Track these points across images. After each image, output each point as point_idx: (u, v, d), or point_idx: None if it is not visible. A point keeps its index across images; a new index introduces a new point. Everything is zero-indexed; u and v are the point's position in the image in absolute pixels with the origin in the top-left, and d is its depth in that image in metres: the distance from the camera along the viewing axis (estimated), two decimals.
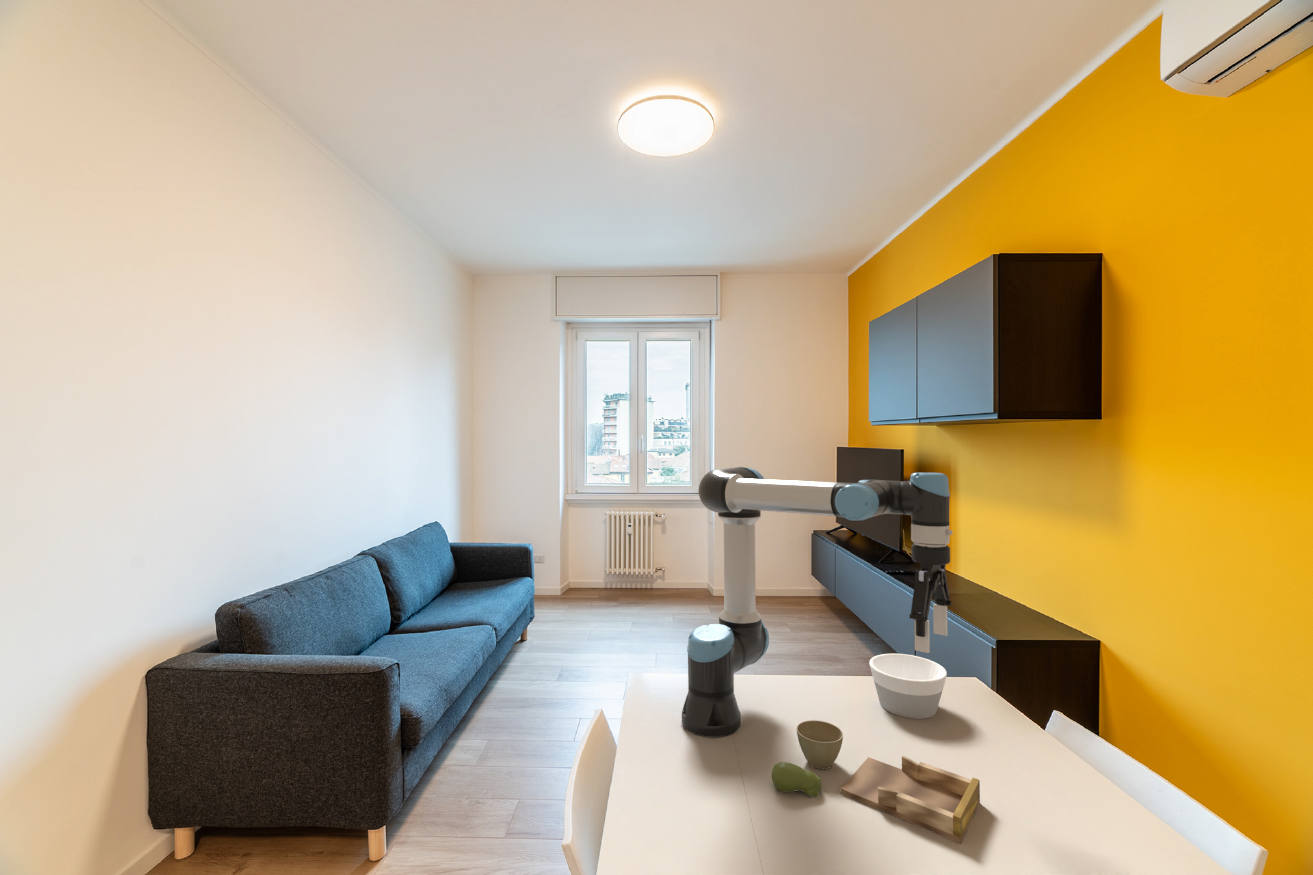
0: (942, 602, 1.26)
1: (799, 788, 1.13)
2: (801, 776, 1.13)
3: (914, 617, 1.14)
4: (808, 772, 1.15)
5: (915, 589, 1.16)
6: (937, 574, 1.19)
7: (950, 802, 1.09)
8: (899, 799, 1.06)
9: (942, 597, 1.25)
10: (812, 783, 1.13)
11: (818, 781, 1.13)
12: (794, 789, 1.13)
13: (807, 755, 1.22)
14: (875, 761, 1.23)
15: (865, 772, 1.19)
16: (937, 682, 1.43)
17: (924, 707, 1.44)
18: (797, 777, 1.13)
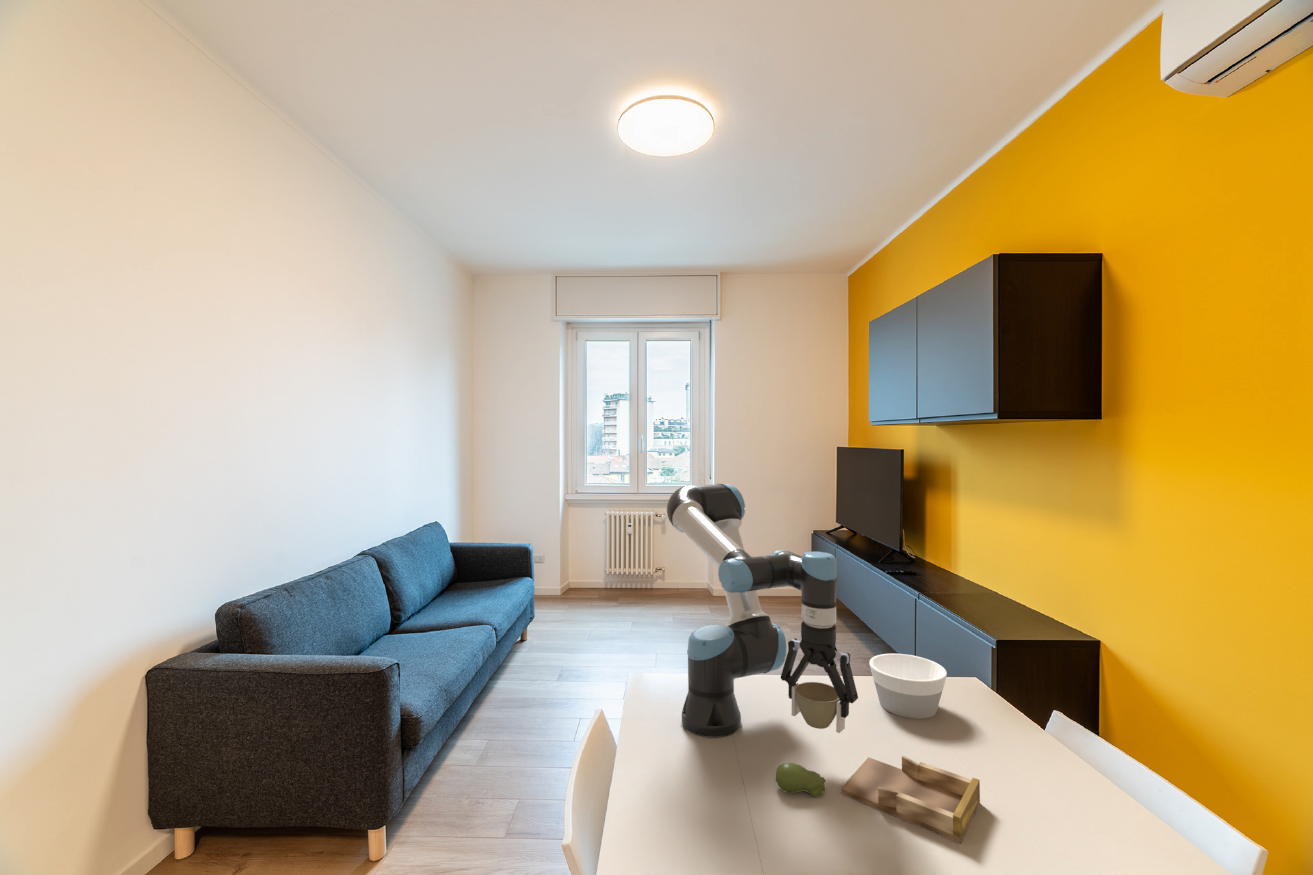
0: None
1: (803, 788, 1.12)
2: (806, 777, 1.13)
3: None
4: (812, 772, 1.14)
5: None
6: (807, 650, 1.25)
7: (950, 802, 1.09)
8: (899, 799, 1.06)
9: None
10: (816, 783, 1.13)
11: (822, 781, 1.13)
12: (798, 789, 1.12)
13: (805, 715, 1.23)
14: (875, 761, 1.23)
15: (865, 772, 1.19)
16: (937, 682, 1.43)
17: (924, 707, 1.44)
18: (802, 778, 1.13)
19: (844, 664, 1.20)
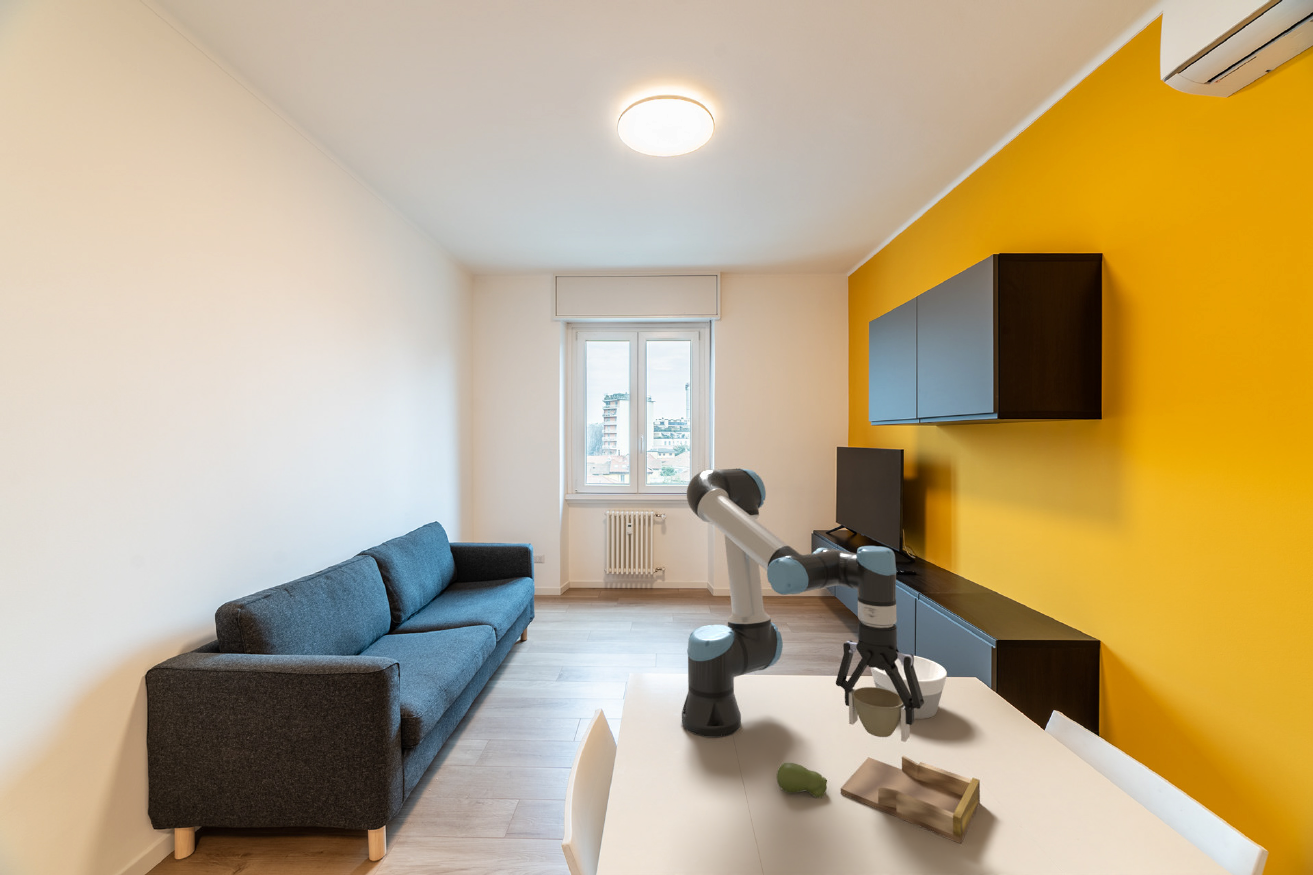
0: None
1: (805, 789, 1.12)
2: (807, 777, 1.13)
3: None
4: (814, 773, 1.14)
5: None
6: (865, 652, 1.16)
7: (950, 802, 1.09)
8: (899, 799, 1.06)
9: None
10: (818, 784, 1.12)
11: (824, 782, 1.13)
12: (800, 790, 1.12)
13: (866, 722, 1.14)
14: (875, 761, 1.23)
15: (865, 772, 1.19)
16: (937, 682, 1.43)
17: (924, 707, 1.44)
18: (803, 778, 1.13)
19: (908, 666, 1.11)
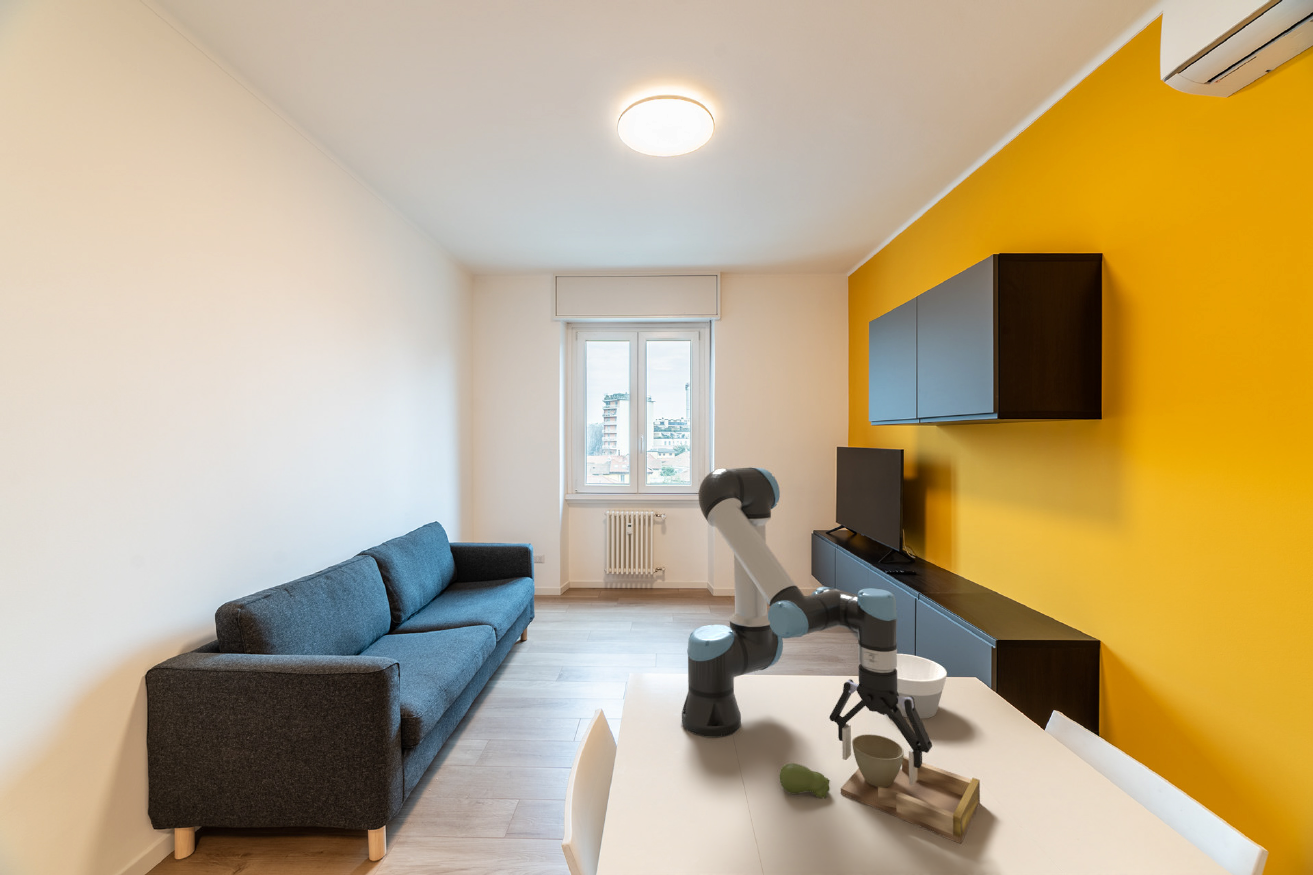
0: None
1: (808, 789, 1.12)
2: (810, 778, 1.13)
3: None
4: (816, 773, 1.14)
5: None
6: (866, 695, 1.16)
7: (950, 802, 1.09)
8: (899, 799, 1.06)
9: None
10: (821, 784, 1.12)
11: (826, 782, 1.13)
12: (803, 790, 1.12)
13: (865, 772, 1.14)
14: None
15: None
16: (937, 682, 1.43)
17: (924, 707, 1.44)
18: (806, 778, 1.12)
19: (910, 709, 1.11)
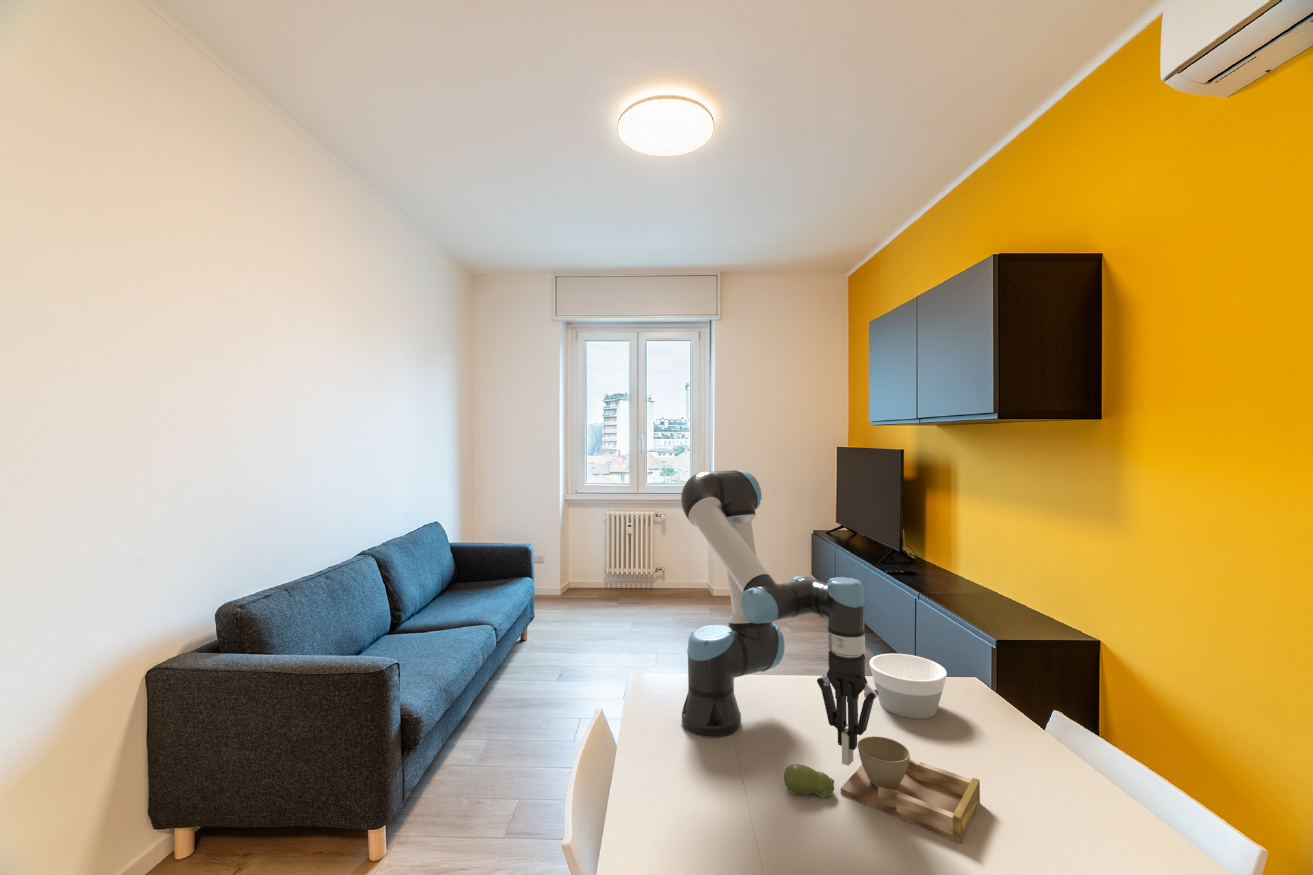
0: None
1: (813, 790, 1.12)
2: (815, 778, 1.13)
3: None
4: (821, 773, 1.14)
5: None
6: None
7: (950, 802, 1.09)
8: (899, 799, 1.06)
9: None
10: (825, 784, 1.12)
11: (831, 782, 1.13)
12: (808, 791, 1.12)
13: (871, 775, 1.13)
14: None
15: (865, 772, 1.19)
16: (937, 682, 1.43)
17: (924, 707, 1.44)
18: (811, 779, 1.12)
19: (869, 701, 1.16)
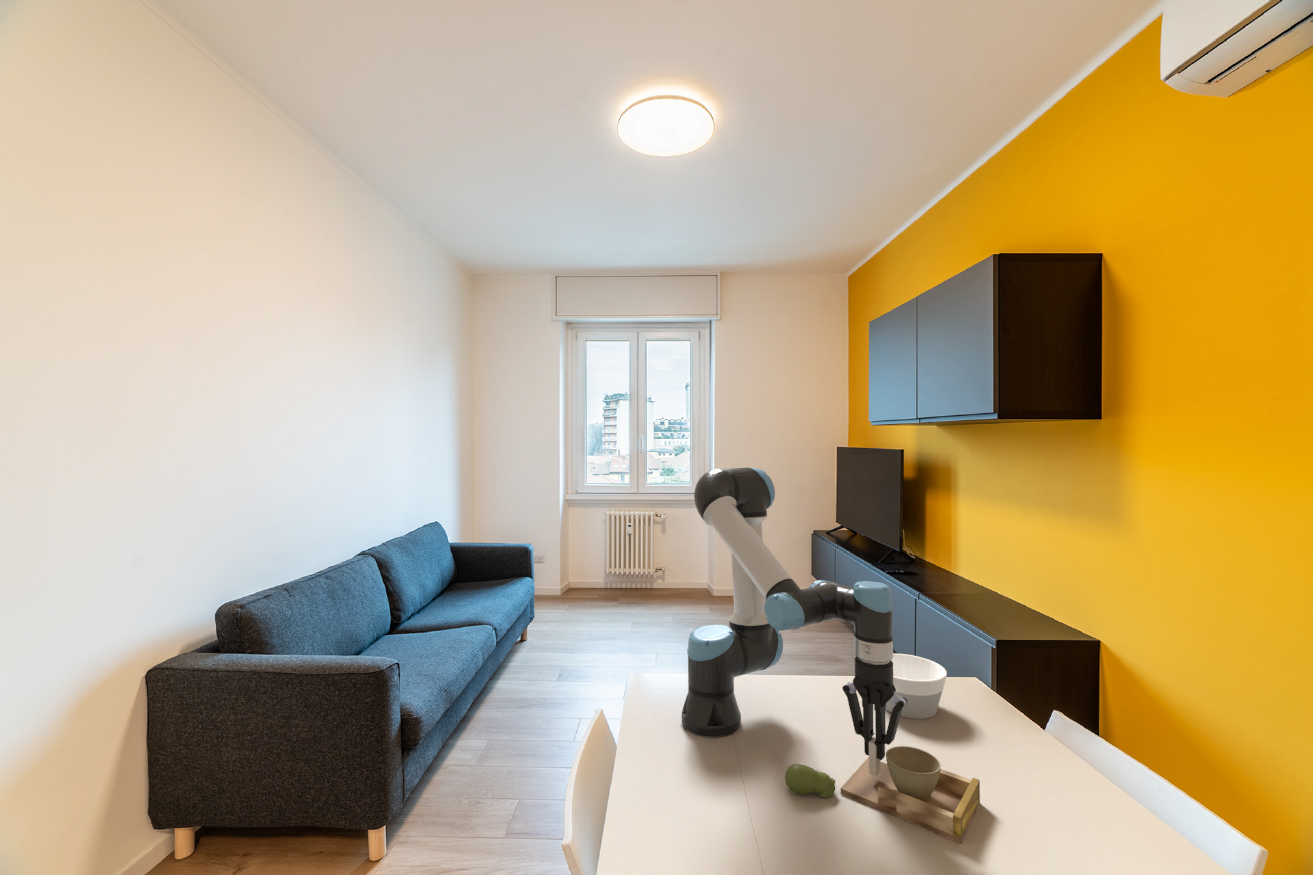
0: None
1: (814, 790, 1.12)
2: (816, 778, 1.12)
3: None
4: (822, 774, 1.14)
5: None
6: None
7: (950, 802, 1.09)
8: (899, 799, 1.06)
9: None
10: (826, 785, 1.12)
11: (832, 782, 1.13)
12: (809, 791, 1.12)
13: (900, 786, 1.09)
14: None
15: (865, 772, 1.19)
16: (937, 682, 1.43)
17: (924, 707, 1.44)
18: (812, 779, 1.12)
19: (898, 710, 1.12)
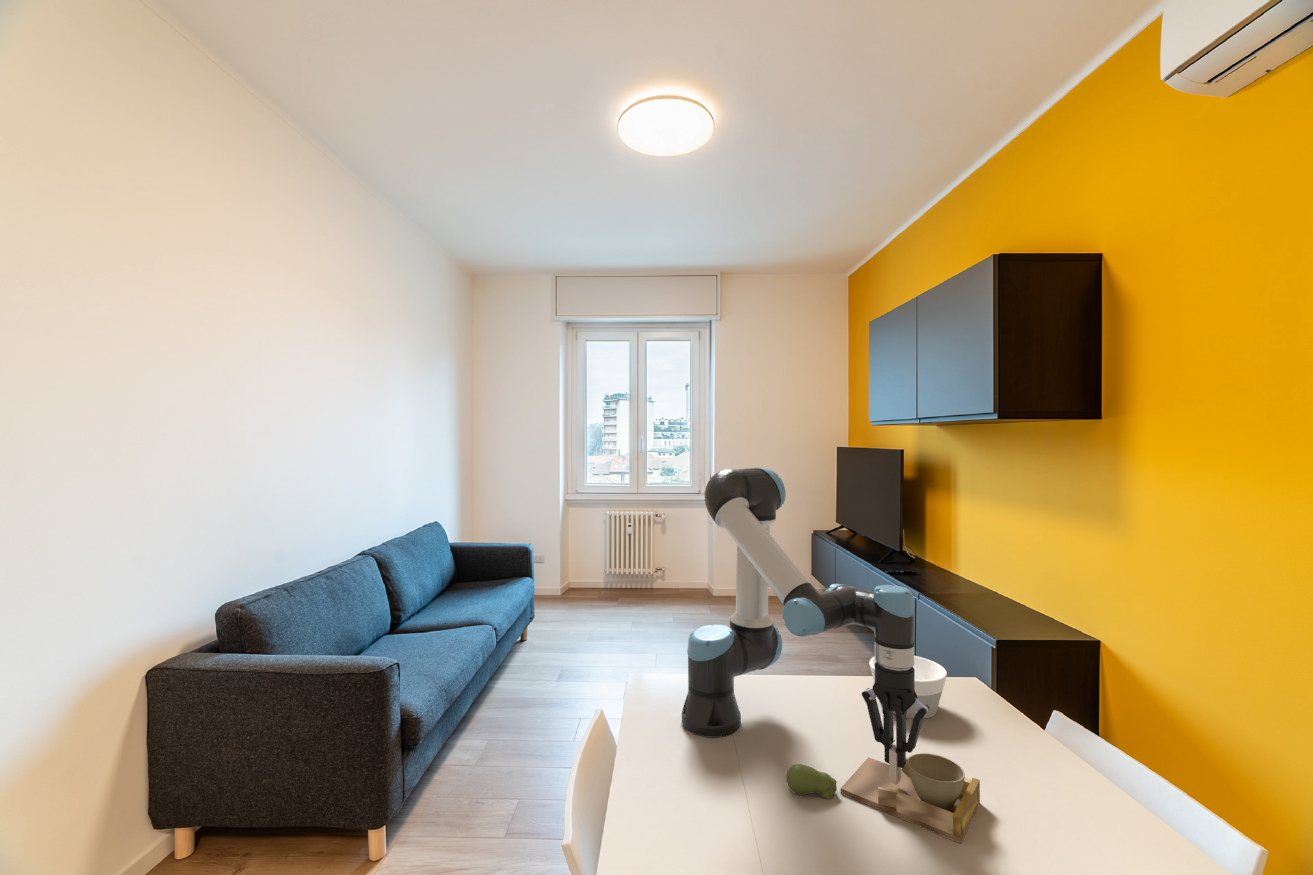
0: None
1: (815, 790, 1.12)
2: (817, 778, 1.12)
3: None
4: (823, 774, 1.14)
5: None
6: (882, 695, 1.14)
7: None
8: (899, 799, 1.06)
9: None
10: (828, 785, 1.12)
11: (833, 783, 1.13)
12: (810, 791, 1.12)
13: (923, 795, 1.07)
14: (875, 761, 1.23)
15: (865, 772, 1.19)
16: (937, 682, 1.43)
17: None
18: (813, 779, 1.12)
19: (920, 717, 1.10)
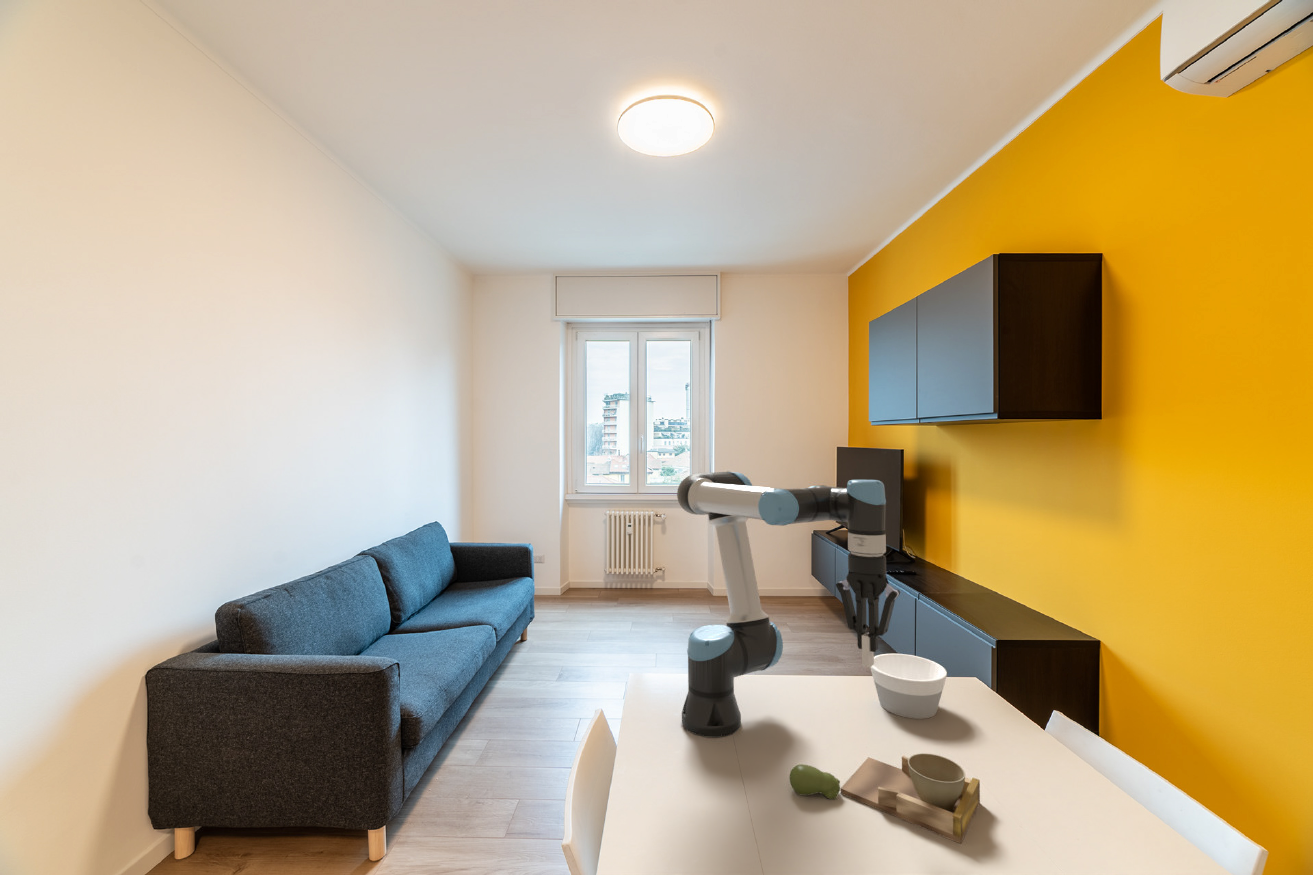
0: None
1: (818, 791, 1.12)
2: (821, 779, 1.12)
3: None
4: (826, 774, 1.14)
5: None
6: None
7: None
8: (899, 799, 1.06)
9: None
10: (831, 785, 1.12)
11: (837, 783, 1.13)
12: (814, 792, 1.12)
13: (924, 795, 1.06)
14: (875, 761, 1.23)
15: (865, 772, 1.19)
16: (937, 682, 1.43)
17: (924, 707, 1.44)
18: (817, 780, 1.12)
19: (891, 600, 1.14)
